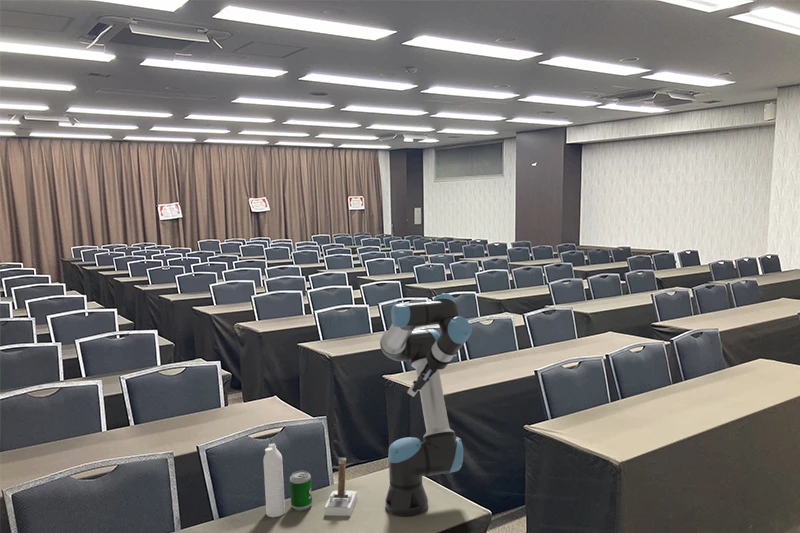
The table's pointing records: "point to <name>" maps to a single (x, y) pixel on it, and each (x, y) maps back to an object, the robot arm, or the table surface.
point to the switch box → (341, 504)
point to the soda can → (301, 490)
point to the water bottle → (274, 482)
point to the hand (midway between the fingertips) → (411, 393)
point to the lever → (341, 479)
